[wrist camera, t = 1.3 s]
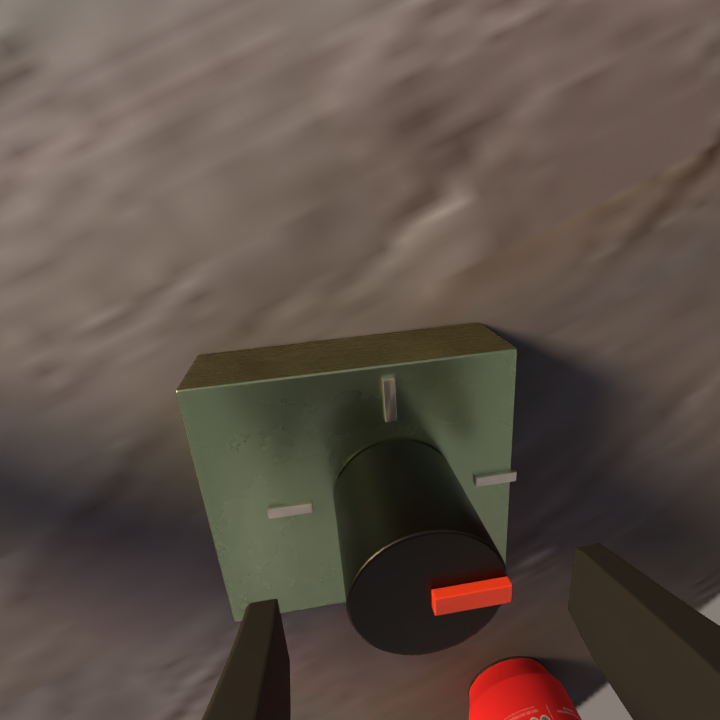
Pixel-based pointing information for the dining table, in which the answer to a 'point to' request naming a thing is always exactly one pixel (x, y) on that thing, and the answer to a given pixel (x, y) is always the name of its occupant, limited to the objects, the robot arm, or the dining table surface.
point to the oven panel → (337, 444)
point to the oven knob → (414, 552)
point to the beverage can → (519, 693)
